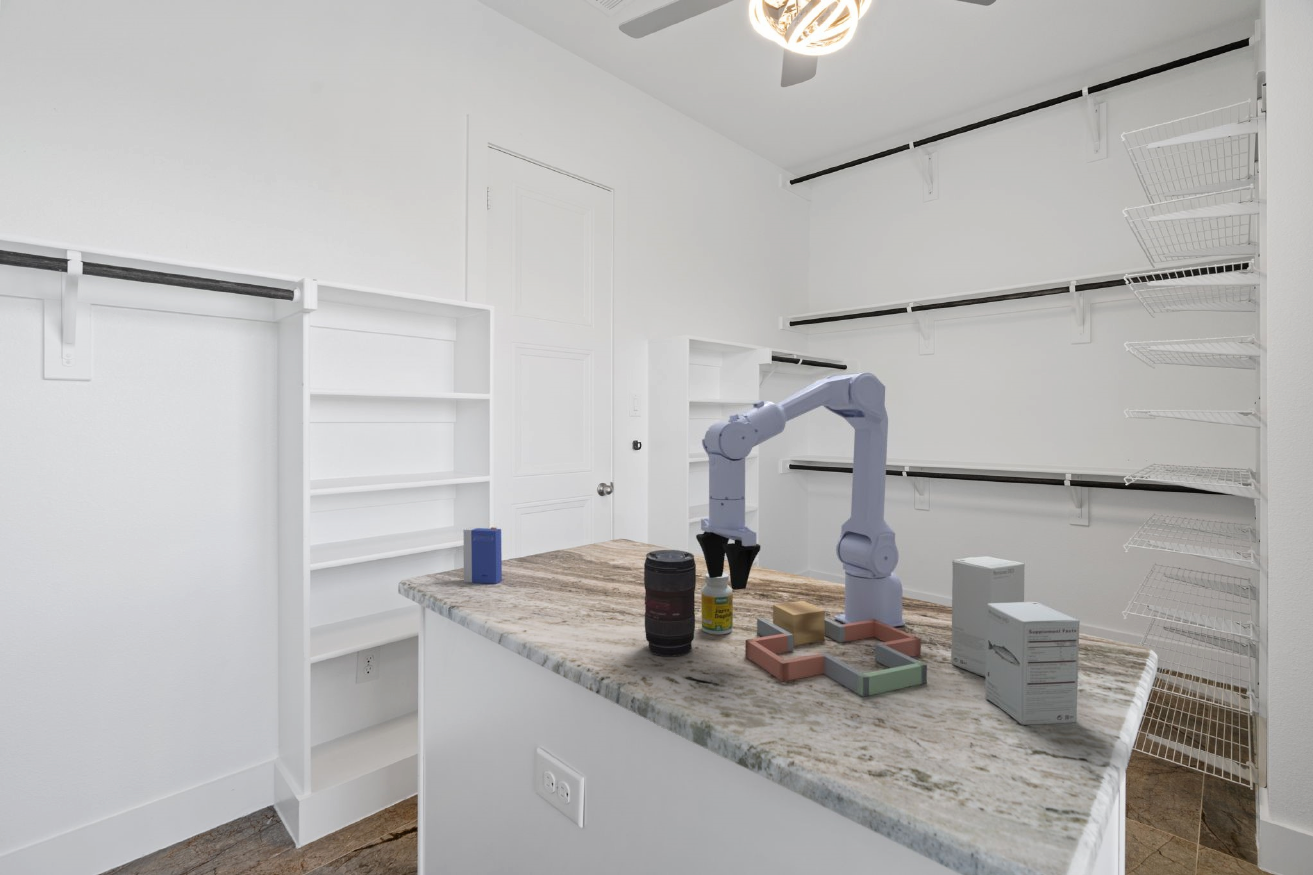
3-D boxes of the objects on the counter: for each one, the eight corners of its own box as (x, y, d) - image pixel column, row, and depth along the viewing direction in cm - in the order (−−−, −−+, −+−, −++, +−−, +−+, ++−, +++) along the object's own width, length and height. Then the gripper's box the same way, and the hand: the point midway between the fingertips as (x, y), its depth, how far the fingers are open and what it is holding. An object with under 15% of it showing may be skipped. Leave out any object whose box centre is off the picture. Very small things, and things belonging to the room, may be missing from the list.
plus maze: (843, 619, 113) (843, 605, 113) (964, 674, 89) (964, 657, 89) (720, 638, 103) (720, 623, 103) (818, 706, 79) (818, 686, 79)
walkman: (501, 580, 140) (501, 527, 139) (496, 584, 137) (495, 529, 137) (469, 578, 141) (469, 526, 141) (463, 582, 139) (462, 528, 138)
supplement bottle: (719, 622, 111) (719, 569, 111) (739, 631, 107) (739, 575, 106) (695, 628, 108) (695, 573, 108) (714, 637, 104) (714, 580, 103)
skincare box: (988, 680, 87) (990, 568, 86) (947, 663, 93) (948, 559, 92) (1025, 668, 91) (1027, 562, 90) (983, 653, 97) (985, 553, 96)
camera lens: (648, 660, 94) (647, 561, 94) (641, 641, 102) (641, 550, 102) (700, 657, 95) (700, 559, 95) (690, 638, 103) (690, 548, 103)
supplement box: (983, 698, 81) (984, 602, 81) (1036, 696, 82) (1038, 600, 82) (1020, 726, 74) (1022, 620, 74) (1079, 723, 75) (1081, 618, 74)
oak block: (802, 629, 108) (802, 600, 108) (824, 640, 103) (824, 610, 103) (772, 633, 106) (773, 604, 106) (793, 645, 100) (793, 615, 100)
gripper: (684, 493, 105) (684, 574, 105) (727, 505, 91) (726, 597, 92) (722, 491, 107) (721, 570, 108) (768, 502, 94) (768, 592, 94)
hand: (726, 582), depth 100 cm, fingers open, 7 cm apart
